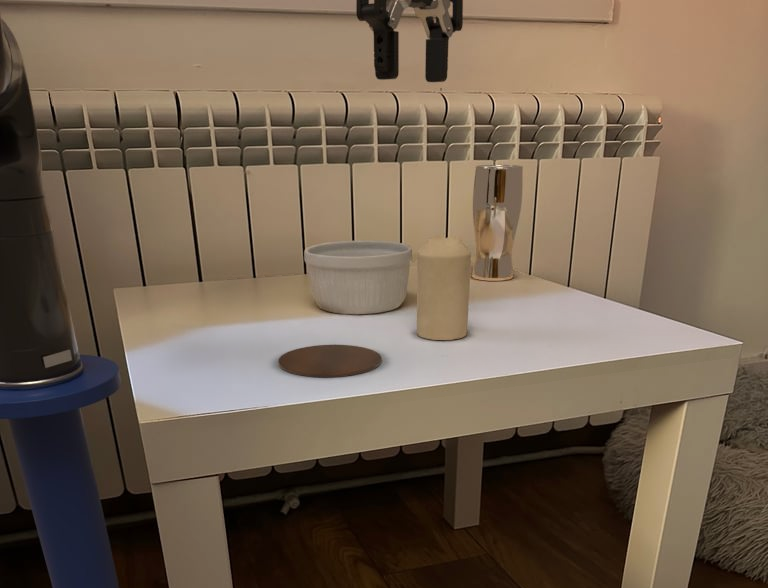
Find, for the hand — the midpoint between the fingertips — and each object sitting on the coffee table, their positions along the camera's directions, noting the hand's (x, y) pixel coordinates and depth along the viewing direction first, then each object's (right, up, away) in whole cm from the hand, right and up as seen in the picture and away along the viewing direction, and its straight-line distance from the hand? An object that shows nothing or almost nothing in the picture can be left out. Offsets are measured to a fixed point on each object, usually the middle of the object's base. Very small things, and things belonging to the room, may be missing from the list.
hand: (412, 80), depth 71 cm
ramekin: (-6, -16, +21) cm, 27 cm away
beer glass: (+13, -7, +38) cm, 41 cm away
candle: (+4, -23, +8) cm, 25 cm away
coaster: (-8, -28, 0) cm, 29 cm away
